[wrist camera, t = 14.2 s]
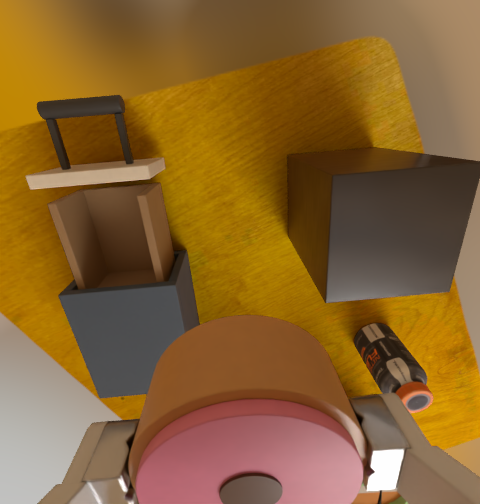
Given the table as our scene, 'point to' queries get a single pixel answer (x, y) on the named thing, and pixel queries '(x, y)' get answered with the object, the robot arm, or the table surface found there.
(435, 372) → the table surface
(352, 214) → the stand
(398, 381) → the pill bottle
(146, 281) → the drawer
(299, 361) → the donut
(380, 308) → the table surface
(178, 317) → the cabinet
